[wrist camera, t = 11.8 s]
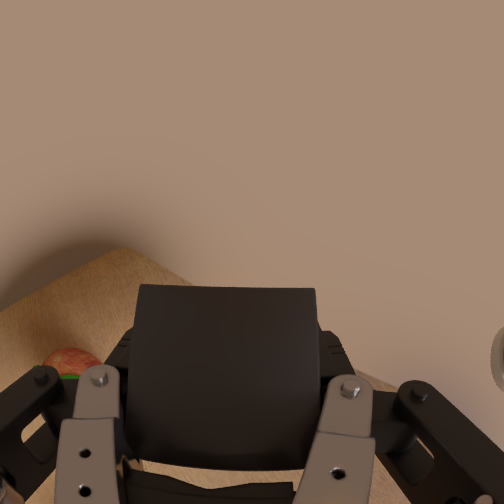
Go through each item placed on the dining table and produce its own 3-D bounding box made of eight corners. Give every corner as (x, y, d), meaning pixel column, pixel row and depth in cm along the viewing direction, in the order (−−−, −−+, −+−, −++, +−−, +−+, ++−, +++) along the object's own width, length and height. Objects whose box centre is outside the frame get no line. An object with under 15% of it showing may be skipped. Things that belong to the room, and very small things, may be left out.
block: (281, 347, 16) (315, 286, 8) (281, 432, 13) (321, 468, 5) (193, 345, 16) (139, 283, 8) (189, 429, 13) (123, 456, 5)
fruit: (73, 347, 30) (27, 325, 22) (135, 368, 30) (95, 353, 21) (60, 406, 26) (10, 399, 18) (122, 433, 26) (78, 440, 17)
